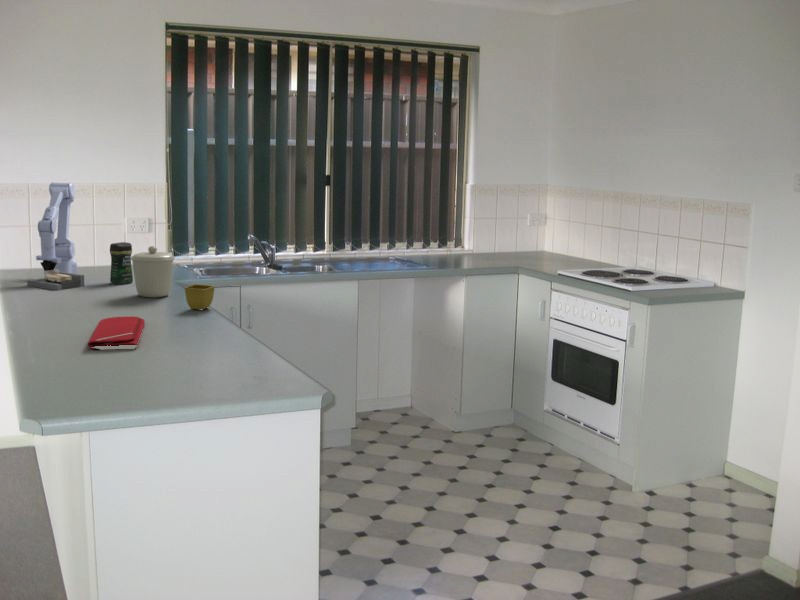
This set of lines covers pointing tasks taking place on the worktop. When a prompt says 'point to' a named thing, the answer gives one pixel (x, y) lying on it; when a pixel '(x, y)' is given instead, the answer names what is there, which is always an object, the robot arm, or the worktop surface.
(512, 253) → the worktop surface
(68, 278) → the footed beige box
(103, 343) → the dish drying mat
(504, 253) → the worktop surface
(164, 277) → the canister
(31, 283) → the loading dock
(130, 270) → the coffee jar
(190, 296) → the flower pot
